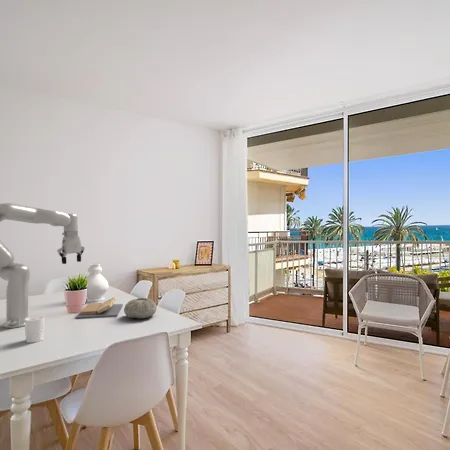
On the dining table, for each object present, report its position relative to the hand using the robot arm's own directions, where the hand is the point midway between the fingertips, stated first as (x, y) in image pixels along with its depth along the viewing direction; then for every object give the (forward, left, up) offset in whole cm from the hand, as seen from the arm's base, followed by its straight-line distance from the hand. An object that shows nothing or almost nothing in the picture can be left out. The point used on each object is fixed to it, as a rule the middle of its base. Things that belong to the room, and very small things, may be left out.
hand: (71, 262), depth 192 cm
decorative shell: (-20, -41, -30) cm, 55 cm away
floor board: (-4, -17, -29) cm, 34 cm away
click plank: (-4, -21, -27) cm, 34 cm away
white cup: (-49, +3, -30) cm, 57 cm away
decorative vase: (+30, -7, -30) cm, 43 cm away
